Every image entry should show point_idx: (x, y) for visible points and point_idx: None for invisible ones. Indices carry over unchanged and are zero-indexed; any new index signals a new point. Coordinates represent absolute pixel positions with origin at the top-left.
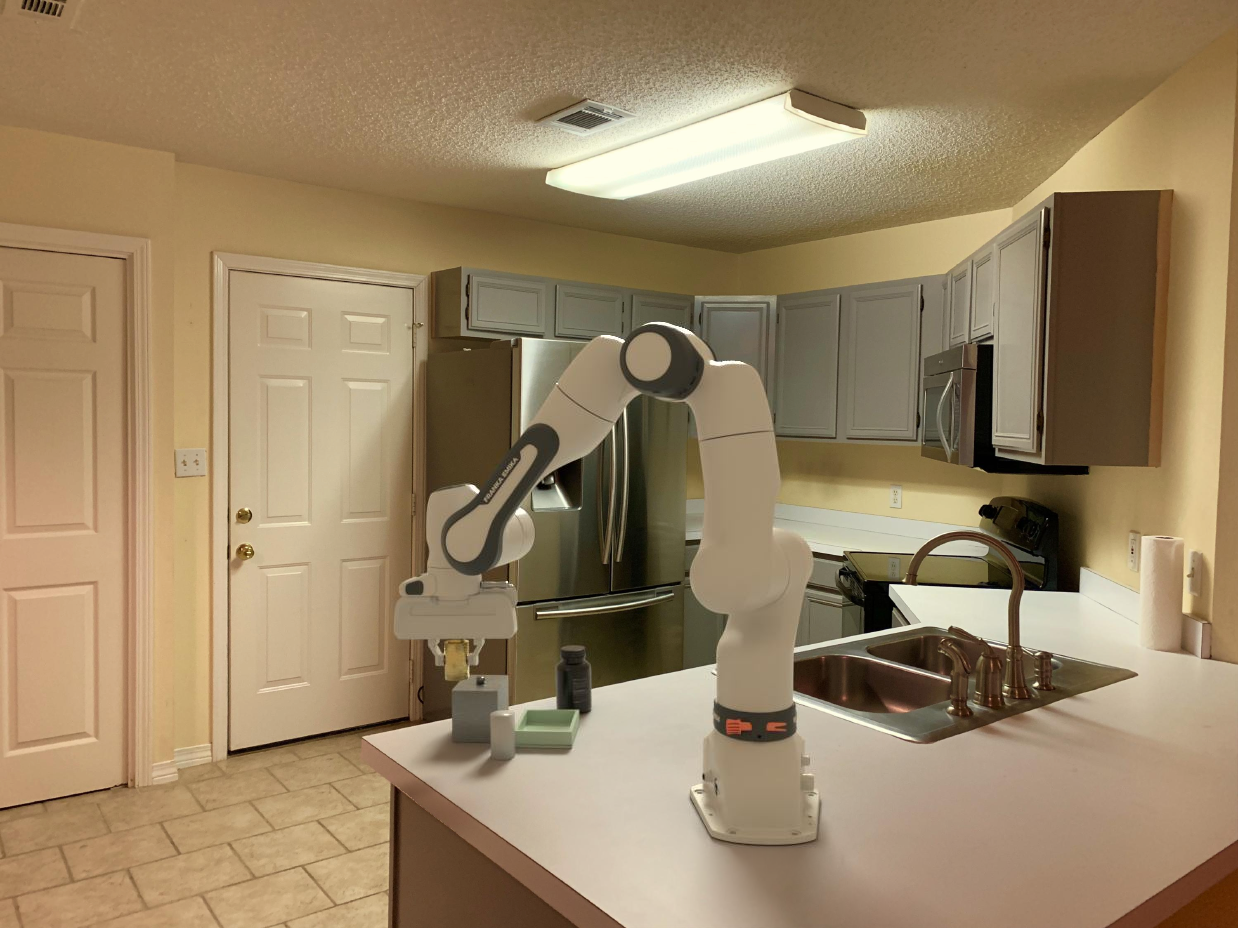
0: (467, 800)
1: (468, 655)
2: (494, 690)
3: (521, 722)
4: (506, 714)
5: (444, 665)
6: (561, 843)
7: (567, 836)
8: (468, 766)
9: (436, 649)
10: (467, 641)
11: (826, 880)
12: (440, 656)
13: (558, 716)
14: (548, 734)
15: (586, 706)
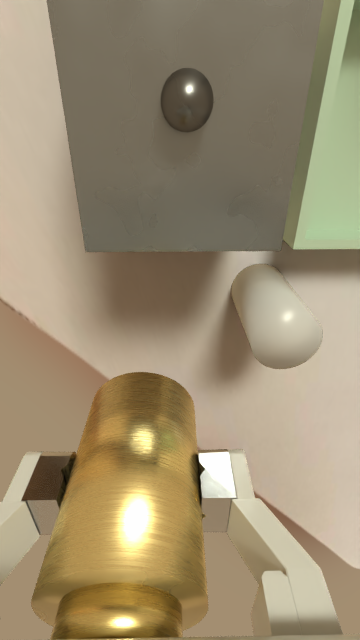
0: (218, 445)
1: (206, 531)
2: (267, 241)
3: (319, 162)
4: (298, 344)
5: None
6: (332, 509)
7: (340, 499)
8: (194, 343)
9: (4, 562)
10: (199, 601)
11: None
12: (51, 528)
13: None
14: None
15: None
